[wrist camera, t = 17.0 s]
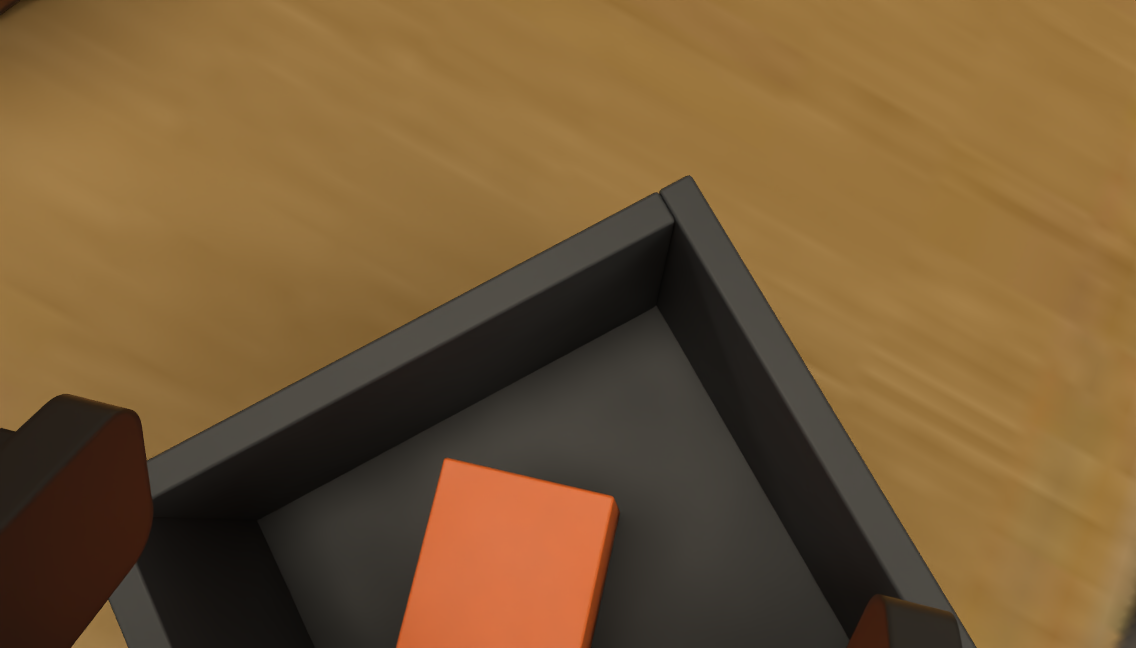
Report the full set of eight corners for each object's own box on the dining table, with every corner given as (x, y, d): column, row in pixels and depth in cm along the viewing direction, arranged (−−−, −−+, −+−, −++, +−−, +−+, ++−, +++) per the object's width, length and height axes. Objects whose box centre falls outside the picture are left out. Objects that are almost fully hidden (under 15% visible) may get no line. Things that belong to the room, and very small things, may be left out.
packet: (580, 694, 26) (546, 809, 15) (474, 667, 26) (365, 761, 15) (620, 510, 27) (614, 496, 16) (516, 486, 27) (443, 456, 16)
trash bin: (420, 934, 25) (328, 1137, 17) (229, 509, 28) (66, 501, 19) (891, 663, 26) (1026, 727, 18) (665, 275, 29) (690, 172, 20)
